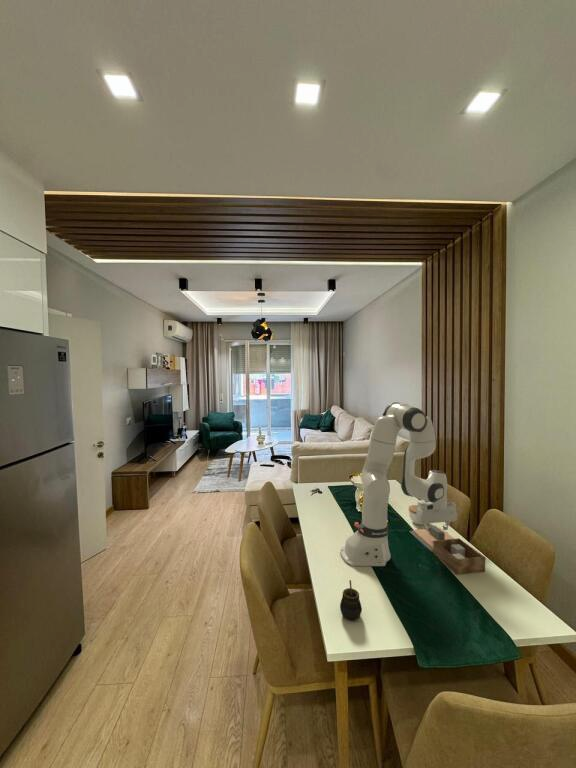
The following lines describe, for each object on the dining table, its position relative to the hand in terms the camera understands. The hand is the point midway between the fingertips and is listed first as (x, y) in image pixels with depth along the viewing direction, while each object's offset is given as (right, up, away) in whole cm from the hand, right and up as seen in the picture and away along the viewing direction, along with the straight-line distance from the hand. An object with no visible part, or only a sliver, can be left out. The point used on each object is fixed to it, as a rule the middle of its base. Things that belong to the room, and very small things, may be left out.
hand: (436, 530), depth 163 cm
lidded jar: (-1, -4, +19) cm, 20 cm away
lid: (0, -4, 0) cm, 4 cm away
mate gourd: (-52, -7, -50) cm, 73 cm away
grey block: (+3, -5, -15) cm, 16 cm away
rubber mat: (0, -5, 0) cm, 5 cm away
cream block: (-1, -5, -23) cm, 23 cm away
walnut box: (+1, -5, -19) cm, 20 cm away
